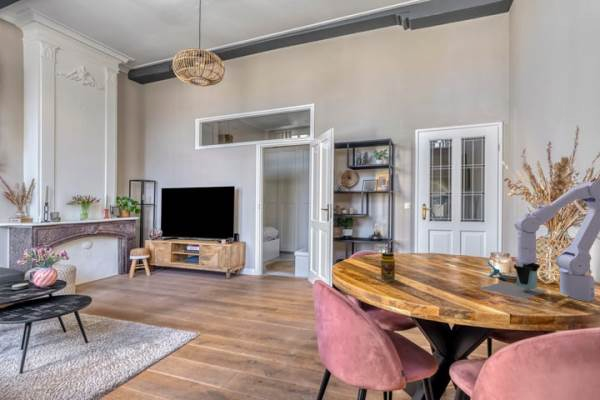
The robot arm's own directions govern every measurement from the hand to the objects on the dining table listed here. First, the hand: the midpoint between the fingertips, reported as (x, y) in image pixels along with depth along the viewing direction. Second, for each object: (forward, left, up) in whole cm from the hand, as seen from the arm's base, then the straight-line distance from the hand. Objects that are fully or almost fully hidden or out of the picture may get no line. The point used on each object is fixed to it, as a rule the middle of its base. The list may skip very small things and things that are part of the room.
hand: (526, 283), depth 118 cm
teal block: (0, 0, -1) cm, 1 cm away
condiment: (+46, +27, -4) cm, 54 cm away
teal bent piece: (+18, -16, -4) cm, 24 cm away
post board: (+4, +2, -4) cm, 6 cm away
